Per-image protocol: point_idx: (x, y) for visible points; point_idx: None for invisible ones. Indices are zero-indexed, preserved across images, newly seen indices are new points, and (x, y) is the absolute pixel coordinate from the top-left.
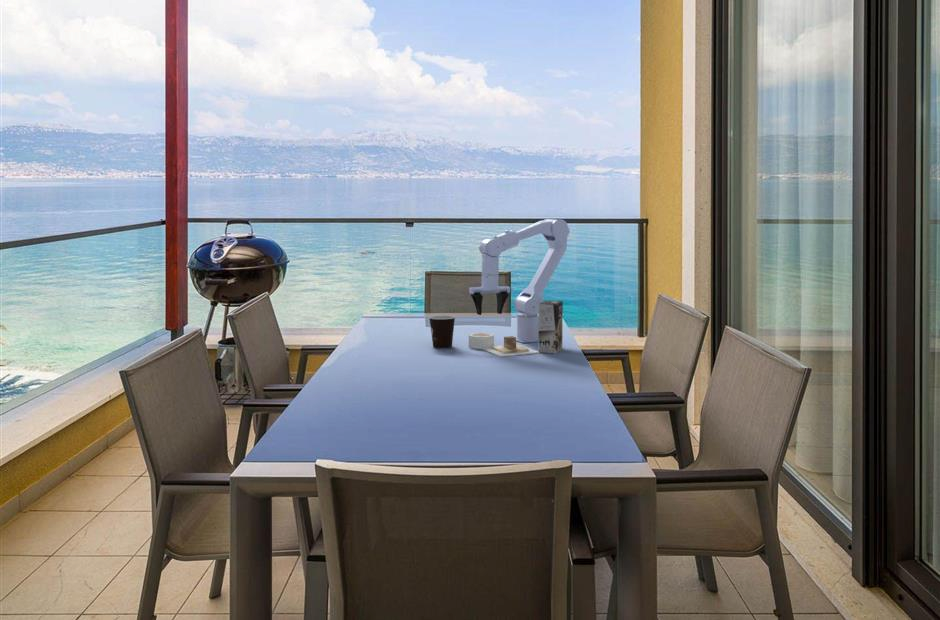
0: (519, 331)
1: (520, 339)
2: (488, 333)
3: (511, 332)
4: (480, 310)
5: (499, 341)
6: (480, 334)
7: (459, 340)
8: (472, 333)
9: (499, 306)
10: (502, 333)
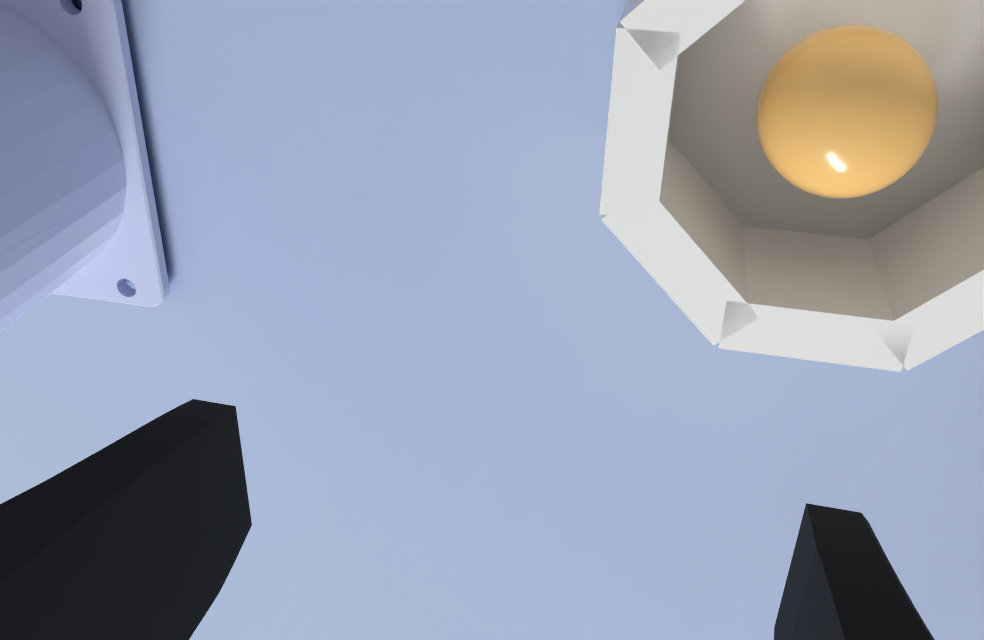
0: (29, 169)
1: (96, 104)
2: (641, 204)
3: None
4: (870, 588)
5: (373, 286)
6: (757, 294)
7: None
8: (906, 358)
9: (125, 583)
10: None
